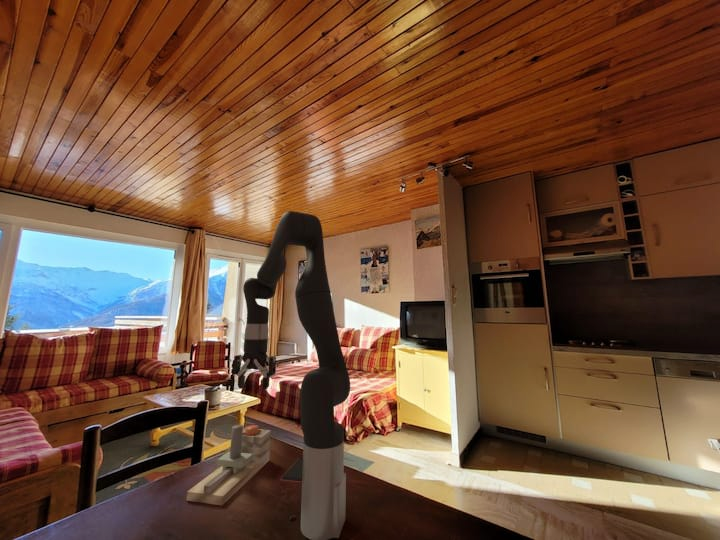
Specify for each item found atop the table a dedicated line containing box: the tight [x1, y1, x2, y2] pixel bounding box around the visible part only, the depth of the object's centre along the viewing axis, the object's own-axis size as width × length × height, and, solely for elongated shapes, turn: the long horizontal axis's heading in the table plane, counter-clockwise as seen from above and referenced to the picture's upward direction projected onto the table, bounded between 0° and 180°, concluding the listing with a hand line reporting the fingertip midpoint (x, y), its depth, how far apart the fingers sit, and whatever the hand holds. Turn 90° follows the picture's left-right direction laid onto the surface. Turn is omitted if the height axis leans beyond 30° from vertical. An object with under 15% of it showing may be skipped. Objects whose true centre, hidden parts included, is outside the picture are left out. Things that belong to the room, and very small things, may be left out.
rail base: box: [186, 427, 272, 506], centre depth 82 cm, size 10×23×9 cm, turn 169°
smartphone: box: [280, 456, 303, 484], centre depth 87 cm, size 7×1×14 cm
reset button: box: [244, 424, 260, 436], centre depth 91 cm, size 4×4×3 cm
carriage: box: [216, 424, 253, 474], centre depth 83 cm, size 8×5×11 cm, turn 79°
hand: (252, 388), depth 93 cm, fingers open, 8 cm apart
